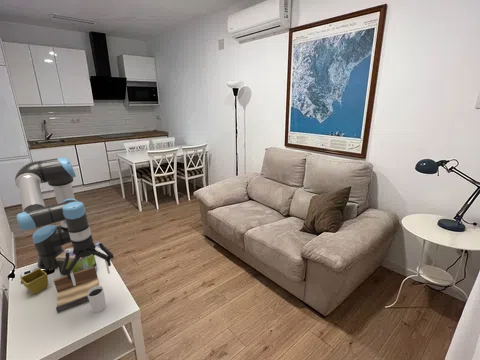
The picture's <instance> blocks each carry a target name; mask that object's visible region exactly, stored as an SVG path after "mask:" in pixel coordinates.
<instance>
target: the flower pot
mask: <svg viewBox="0 0 480 360" xmlns="http://www.w3.org/2000/svg"><path fill="white" fill-rule="evenodd" d="M19 279H20V281H21V283H22V284H23V286H24V287H25V288H26V289H27V290H28V291H29V292H30V293H32V294H33V295H37V294H38V293H40V292H42V291H44V290H45V289H47V287H48V285H49V280H48V279H49V278H48V274H47V272H46V271H43V270H41V269H40V268H37V269H35V270H33V271H32V272H29V273H27V274H24V275H23V276H21V277H20V278H19Z"/></svg>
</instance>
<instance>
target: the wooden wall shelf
mask: <svg viewBox="0 0 480 360" xmlns="http://www.w3.org/2000/svg"><path fill="white" fill-rule="evenodd" d="M73 275H74V278H75V281H76V285H75V286H74V285H73V282H72V279H70V280H69V279H68V276H67V275H66V276H63V277H58V278H54V279H53V283H54V286H55V289H56V292H57V296H56V306H55V311H56V313H57V314H59V313H63V312H65V311H67V310H71V309H73V308H75V307H79V305H84V304H86V303H88V302H89V299H88V296H87V292H88V291H89V290H90V289H91V288H93V287H95V286H100V281H99V278H98V274H97V271H96V269H95V266H94V267H91V268H88V269H85V270H82V271H79V272H75V273H73Z"/></svg>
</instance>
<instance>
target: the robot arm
mask: <svg viewBox="0 0 480 360" xmlns="http://www.w3.org/2000/svg"><path fill="white" fill-rule="evenodd" d="M76 176H77V175H76V172H75V170H74V168H73V166H72V163H71V161H70V159H69V158H68V157H56V158H50V159H44V160H38V161H36V160H35V161H33V162H29V163H26V164H25V165H23V166H21V168H20V169H19V170H18V171H17V173H16V175H15V177H14V183H15V185H16V187H17V188H18V189H19V196H20V202H21V206H22V212H20V213H17V214H16V221H17V225H18V228H19V229H20V230H21V231H25V232H26V231H30V230H34V229H35V230H36V229H37V230H36V231H34V232H33V234H32V243H33V244H34V245H35V249H36V252H37V255H38V259H37V269H39V268H40V269H50V268H53V269H54V270H57V269H59V268H58V264H57V261H56V257H57V256H58V255H60V254H61V253H62V252H64V251H65V250H66V249H64V248H63V246H64V245H67V244H70V243H71V245H72V248H73V251H68V250H67V251H66V257H65V260H64V263H63V266H62V269H61V274H62V275H63V274H67V276H68V279H69V280H70V279H72V282H73V285H74V286H75V285H76V281H75V278H74V275H73V271H72V269H73V267H74V266H75V264H76V263H77V261H78V260H79V259H80V257H81V258H84V257H86V256H90V255H91V254H93V255H94V256H95V257H98V258H100V259H103V260H104V263H105V266H106V271H107V274H111V271H110V268H109V267H111V266H112V265H111V264H112V263H111V260H112V259H113V258H114V257H115V256H114V253H113V252H112V251H111V250H110V249H108V248H107V247H106V246H105V245H104V244H103V242H102V241H101V240H100V241H98V242H97V243H94V240H93V236H92V231H91V228H90V223H89V219H88V215H87V212H86V211H87V210H86V208H85V204H84V203H83V202H82V201H78V200H77V199H76V198H75V193H74V190H73V189H74V188H73V187H72V186H73V185H72V183H73V182H74V178H76ZM45 183H47V185H48V186H49V187H52V188H53V192H54V195H55V200H56V204H52V205H48V206H46V205H45V202H44V201H45V200H44V198H43V193H42V189H41V184H45ZM56 223H60V225H59V226H57V225H55V224H56ZM38 228H39V229H38ZM96 247H97V248H99V249H100V250H102V251H103V252H101V251H99V250H97V249H96ZM72 254H75V258H74V259H73V261H72V262H71V264H70V265H69V267H68V268H67V269H66V267H67V264H68V261H69V257H70V256H71V255H72ZM61 274H60V275H61Z"/></svg>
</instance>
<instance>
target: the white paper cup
mask: <svg viewBox="0 0 480 360" xmlns="http://www.w3.org/2000/svg"><path fill="white" fill-rule="evenodd" d="M87 296H88V299H89V301H88V302H89V305H90V307H91V310H92V312H93V313H96V314H97V313H101V312H102V311H104V310H106V308H107V301H106V297H105V291H104V287H103V286H102V285H99V286H95V287H93V288H91V289H90V290H89V291H88V292H87Z"/></svg>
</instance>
